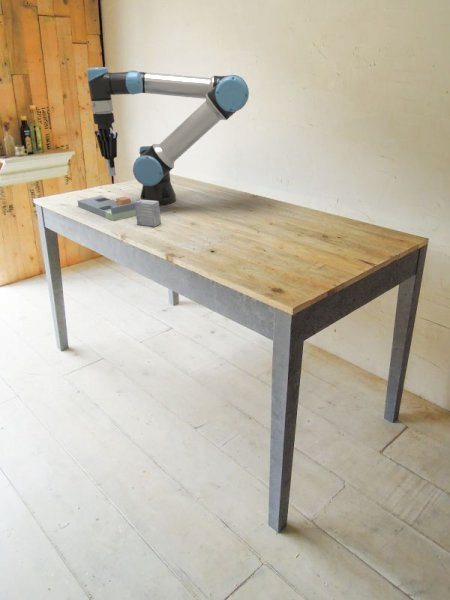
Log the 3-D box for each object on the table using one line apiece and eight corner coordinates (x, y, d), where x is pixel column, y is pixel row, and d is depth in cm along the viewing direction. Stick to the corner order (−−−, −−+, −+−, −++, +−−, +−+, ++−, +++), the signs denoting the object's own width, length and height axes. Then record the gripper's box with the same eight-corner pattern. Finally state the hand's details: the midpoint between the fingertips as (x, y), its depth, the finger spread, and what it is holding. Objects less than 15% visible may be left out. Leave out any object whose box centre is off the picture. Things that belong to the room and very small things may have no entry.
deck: (78, 206, 212) (76, 194, 210) (101, 201, 218) (100, 190, 216) (113, 221, 191) (112, 208, 189) (138, 215, 197) (137, 202, 195)
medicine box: (161, 223, 186) (159, 200, 182) (155, 227, 183) (152, 203, 179) (143, 221, 189) (141, 199, 186) (136, 225, 186) (134, 202, 182)
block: (117, 208, 198) (116, 198, 196) (126, 206, 200) (125, 196, 198) (122, 210, 195) (121, 200, 193) (131, 208, 197) (130, 198, 195)
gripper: (85, 112, 190) (95, 175, 201) (103, 114, 182) (112, 179, 192) (102, 110, 195) (111, 172, 205) (121, 112, 186) (129, 176, 196)
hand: (111, 175), depth 199 cm, fingers closed
